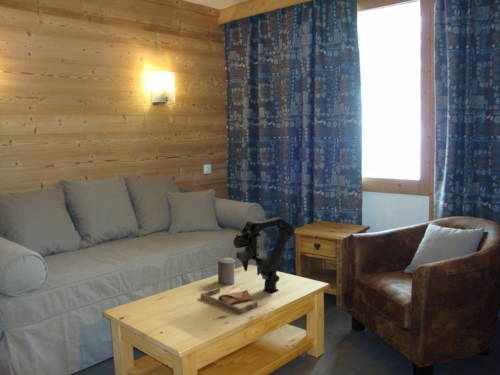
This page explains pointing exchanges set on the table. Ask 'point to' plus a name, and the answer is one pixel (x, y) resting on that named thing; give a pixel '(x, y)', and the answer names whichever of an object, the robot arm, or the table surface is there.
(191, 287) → the table surface
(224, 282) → the pillar candle
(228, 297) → the sunglasses case
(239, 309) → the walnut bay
